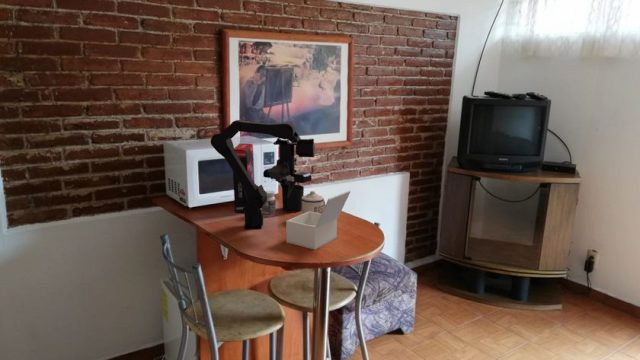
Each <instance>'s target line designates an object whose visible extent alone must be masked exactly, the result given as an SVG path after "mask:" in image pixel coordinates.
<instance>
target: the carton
mask: <svg viewBox="0 0 640 360" xmlns="http://www.w3.org/2000/svg"><path fill="white" fill-rule="evenodd" d="M320 216H321V214H320V213H315V212H310V211H309V212H306V213H304V214H302V213H301V214H299V215H296V216H294V217H292V218H290V219H288V220H286V222H285V223H286V225H285V227H286V229H285V230H286V233H285V234H286V236H285V237H286V240H285V241H286V243H287V244H290V245H293V246H294V245H296V246H298V247H299V246H300V247H303V248H307V249H311V250H314V251H315V250H317V249H319V248H321V247H323V246H325V245H326V244H328V243H330V242H332V241H334V240H336V239H337V237H338V236H337V235H338V231H337V230H338V218H337V219H335V220H333V221H330V222H328V223H326V224H324V225H322V226H320V227H318V228H316V225H317V223H318V220H319V218H320Z"/></svg>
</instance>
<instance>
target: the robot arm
mask: <svg viewBox="0 0 640 360" xmlns="http://www.w3.org/2000/svg"><path fill="white" fill-rule="evenodd" d="M239 132H241V133H243V132H244V133H250V134H251V133H253V134H263V135H270V136H271V137H275V138H277V139H276V140H275V141H274V142H273V145H275V146H278V159H276V164H274V165H273V166H272V167H270V168H266V169H264V170H263V173H262V175H263V178H266V179H270V180H275V182H278V184H279V185H280V187H281V190H282V189H283V192H284V195H285V197H286V198H288V197H289V196H290V193H291V191H292V189H293V187H294V185H296V183H297V184H299V183H300V184H305V183H308V182H311V181H312V174H311V173H309V172H304V171H300V172H298V171H297V169H296V168H295V164H296V162H297V161H298V160H297V158H295V156H298V157H299V158H315V156H316V146H315V139H314V138H301V137H300V135H299V134H298V132H297V131H296V127H295V125H294V123H292V122H291V121H283V122H276V123H275V122H274V123H268V122H257V121H248V120H240V119H236V120H234V121H232V122H231V123H230V124H229V125H228V126H226V127H225V128H224V129H223V130H221V131H220V132H217V133H215V134H213V135H212V136H211V138H210V145H211V146H212V148H213V149H214V150H215V151H216V152H217V153H218V154H219V155H220V156H222V157H223V158H224V160H225V161H226V162H227V164H228V166H229V167H230V169H231V171H232V173H233V172H234V174H235V175H236V177H237V178H238V180H239V182H240V183H241V185H242V186H243V188H244V190H245V194H246V198H247V201H248V204H247V205H246V206H245V207H244V208H243V211H244V227H243V229H246V230H250V229H251V230H252V229H253V230H255V229H256V230H257V229H259V230H260V229H263V228H262V227H263V226H264V216H263V214H262V207H263V205H264V204H265V203H266V201H267V195H266V194H267V192H265V191H266V190H265V189H264V186H263V185H262V184H259V186H258V185H257V184H256V182H255V183H254V182H253V180H252V178H251V177H250V175H249V174H248V172H247V170H246V169H245V167H244V166H243V164H242V162H241V161H240V159H239V158H238V156H237V154H236V153H235V150H234V148H235V147H234V142H233V140H232V138H234V137H235V136H236V135H237V134H238V133H239ZM295 154H296V155H295Z"/></svg>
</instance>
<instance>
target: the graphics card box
mask: <svg viewBox="0 0 640 360" xmlns="http://www.w3.org/2000/svg"><path fill="white" fill-rule="evenodd" d="M234 150H235V153H236V154H237V156H238V158H239V159H240V161H241V162H242V164H243V166H244V167H245V169H246V170H247V172H248V174H249V175H250V177H251V178H252V180H253V182H254V183H255V184H256V182H255V164H254V163H255V162H254V161H255V160H254V145H253V143H238V144H237V145H236V146H235V147H234ZM232 182H233V183H232V184H233V198H234V199H233V200H234V213H238V214H239V213H240V214H241V213H244V211H243V208H244V207H245V206H246V205H247V204H248V201H247V198H246V194H245V190H244V188H243V186H242V185H241V183H240V182H239V180H238V178H237V177H236V175H235V174H234V172H233V171H232Z"/></svg>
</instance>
